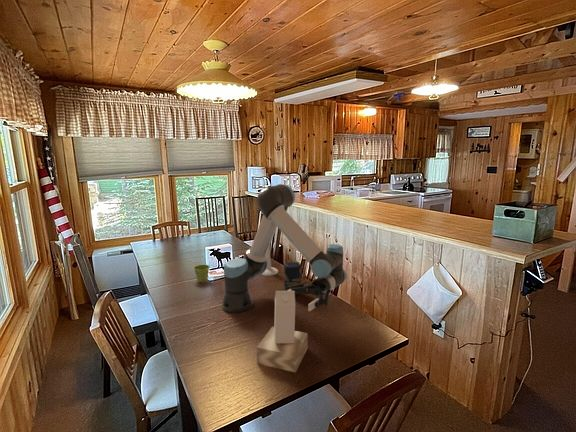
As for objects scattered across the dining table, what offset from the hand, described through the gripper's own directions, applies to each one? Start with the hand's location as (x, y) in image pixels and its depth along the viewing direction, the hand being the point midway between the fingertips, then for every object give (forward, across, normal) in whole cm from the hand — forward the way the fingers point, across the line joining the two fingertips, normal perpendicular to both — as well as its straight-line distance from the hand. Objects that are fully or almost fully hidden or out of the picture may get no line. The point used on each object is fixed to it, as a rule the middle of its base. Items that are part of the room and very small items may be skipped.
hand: (294, 302), depth 123 cm
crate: (+7, 0, -20) cm, 21 cm away
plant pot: (-20, +85, -19) cm, 90 cm away
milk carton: (+7, 0, -12) cm, 14 cm away
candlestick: (-55, +63, -19) cm, 86 cm away
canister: (-39, +30, -19) cm, 53 cm away
